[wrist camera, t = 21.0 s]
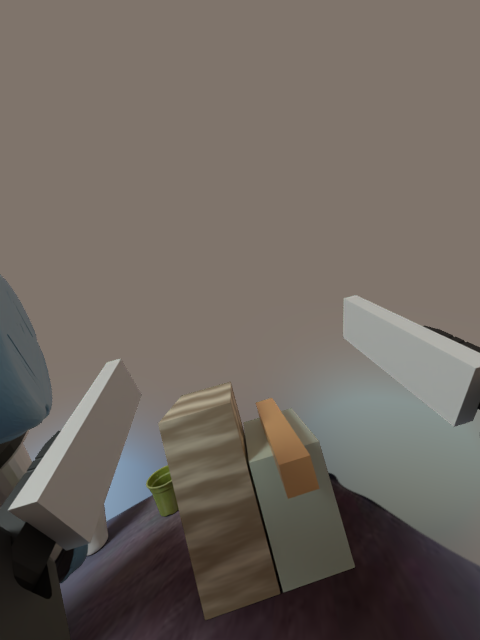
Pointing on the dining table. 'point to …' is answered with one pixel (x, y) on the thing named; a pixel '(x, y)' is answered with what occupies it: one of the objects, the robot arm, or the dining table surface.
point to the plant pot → (163, 491)
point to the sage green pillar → (298, 512)
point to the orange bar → (287, 451)
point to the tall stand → (218, 501)
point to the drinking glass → (99, 534)
